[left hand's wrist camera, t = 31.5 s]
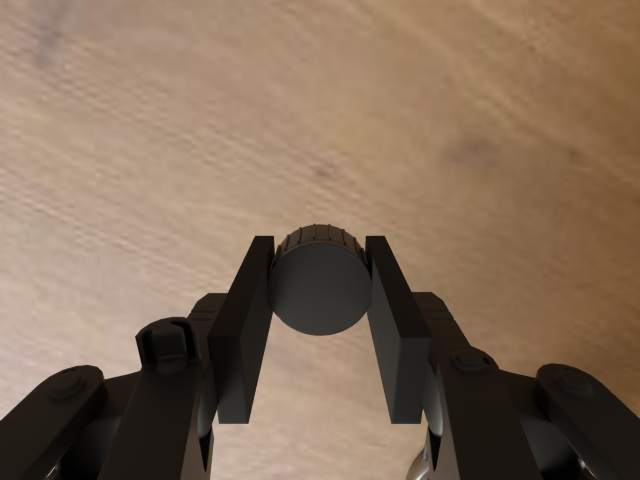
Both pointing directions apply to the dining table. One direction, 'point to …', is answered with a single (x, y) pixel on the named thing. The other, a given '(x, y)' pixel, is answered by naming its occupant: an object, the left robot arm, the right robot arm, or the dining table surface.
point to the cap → (319, 280)
